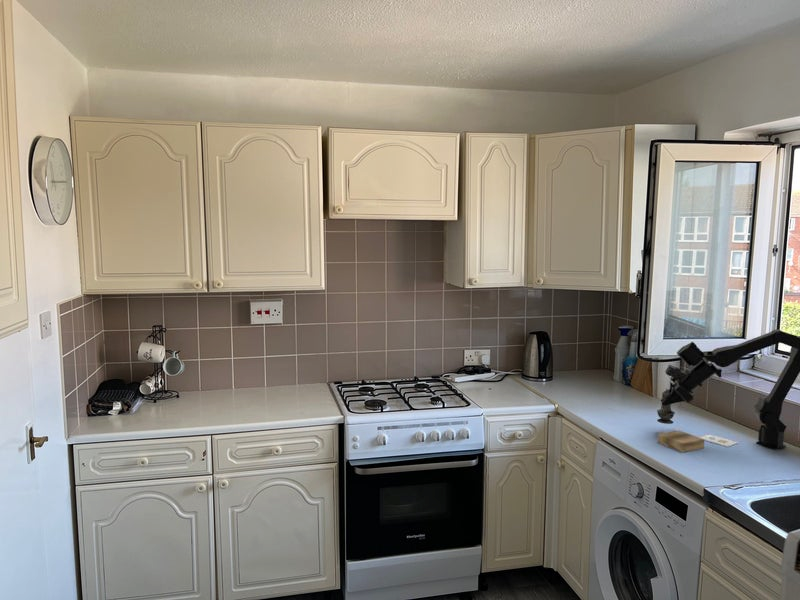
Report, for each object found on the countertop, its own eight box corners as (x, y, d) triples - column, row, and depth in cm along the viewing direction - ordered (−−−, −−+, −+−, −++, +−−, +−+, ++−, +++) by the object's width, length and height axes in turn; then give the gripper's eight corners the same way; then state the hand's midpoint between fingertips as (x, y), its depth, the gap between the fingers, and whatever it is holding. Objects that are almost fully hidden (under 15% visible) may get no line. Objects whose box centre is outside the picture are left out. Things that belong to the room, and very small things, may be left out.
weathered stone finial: (658, 418, 211) (660, 385, 210) (676, 421, 207) (678, 388, 206) (654, 421, 207) (655, 389, 205) (671, 425, 203) (673, 391, 202)
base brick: (703, 448, 193) (704, 439, 193) (682, 452, 189) (683, 443, 189) (678, 438, 202) (678, 430, 202) (657, 442, 198) (658, 433, 198)
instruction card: (738, 443, 198) (738, 442, 198) (727, 447, 194) (727, 446, 194) (708, 434, 206) (708, 433, 206) (698, 438, 202) (698, 437, 202)
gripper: (677, 353, 212) (643, 380, 217) (684, 363, 195) (647, 392, 199) (700, 376, 210) (665, 402, 215) (709, 388, 193) (671, 417, 198)
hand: (662, 403), depth 207 cm, fingers closed on weathered stone finial, 4 cm apart
